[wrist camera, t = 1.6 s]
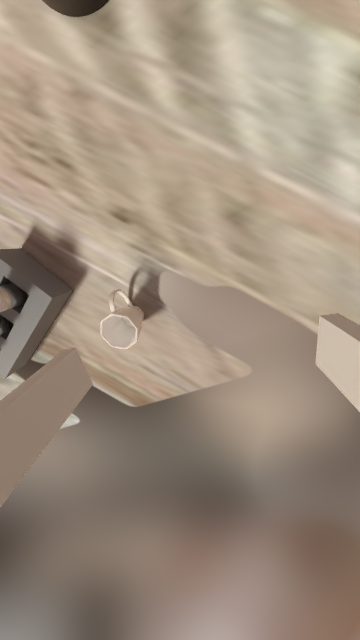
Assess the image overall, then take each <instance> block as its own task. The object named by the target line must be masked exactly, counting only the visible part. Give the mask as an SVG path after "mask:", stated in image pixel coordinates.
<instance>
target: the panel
mask: <svg viewBox="0 0 360 640" xmlns="http://www.w3.org/2000/svg"><path fill="white" fill-rule="evenodd" d="M11 283H14V284H15V285H17V286H18V287H19V288H21V289H22V290H23V291H25V292H26V293H27V301H26V303H24V304H22V305H19V306H16V307H14V308H11V309H8V310H5V311H2V312H0V315H2V316H3V317H5V318H6V319H8V320H9V321H10V322H12V323H13V328H12V330H11V331H9V332H6V333H4V334H2V335H0V349H1V351H0V375H1V376H2V377H4V378H6V377H8V376H9V375H11V374H12V373H14V372H15V371H16V370H18V369H19V368H20V367H22V366H23V365H25V364H26V363H28V361H29V360H30V358H31V356H32V355H33V353H34V352H35V350H36V349H37V347H38V345H39V344H40V342H41V341H42V339H43V338H44V336H45V334H46V333H47V331H48V330H49V328H50V326H51V325H52V323H53V322H54V320H55V319H56V317H57V315H58V314H59V312H60V311H61V309H62V307H63V306H64V304H65V303H66V301H67V300H68V298H69V296H70V295H71V293H72V292H73V289H72V288H71V287H69V286H68V285H67V284H65V283H64V282H63V281H62V280H60V279H59V278H58V277H57V276H55V275H54V274H53V273H52V272H50V271H49V270H48V269H46V268H45V267H44V266H43V265H41V264H40V263H39V262H38V261H36V260H35V259H34V258H32V257H31V256H30V255H29V254H27V253H26V252H25V251H24V250H22V249H1V250H0V286H3V285H7V284H11Z"/></svg>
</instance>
